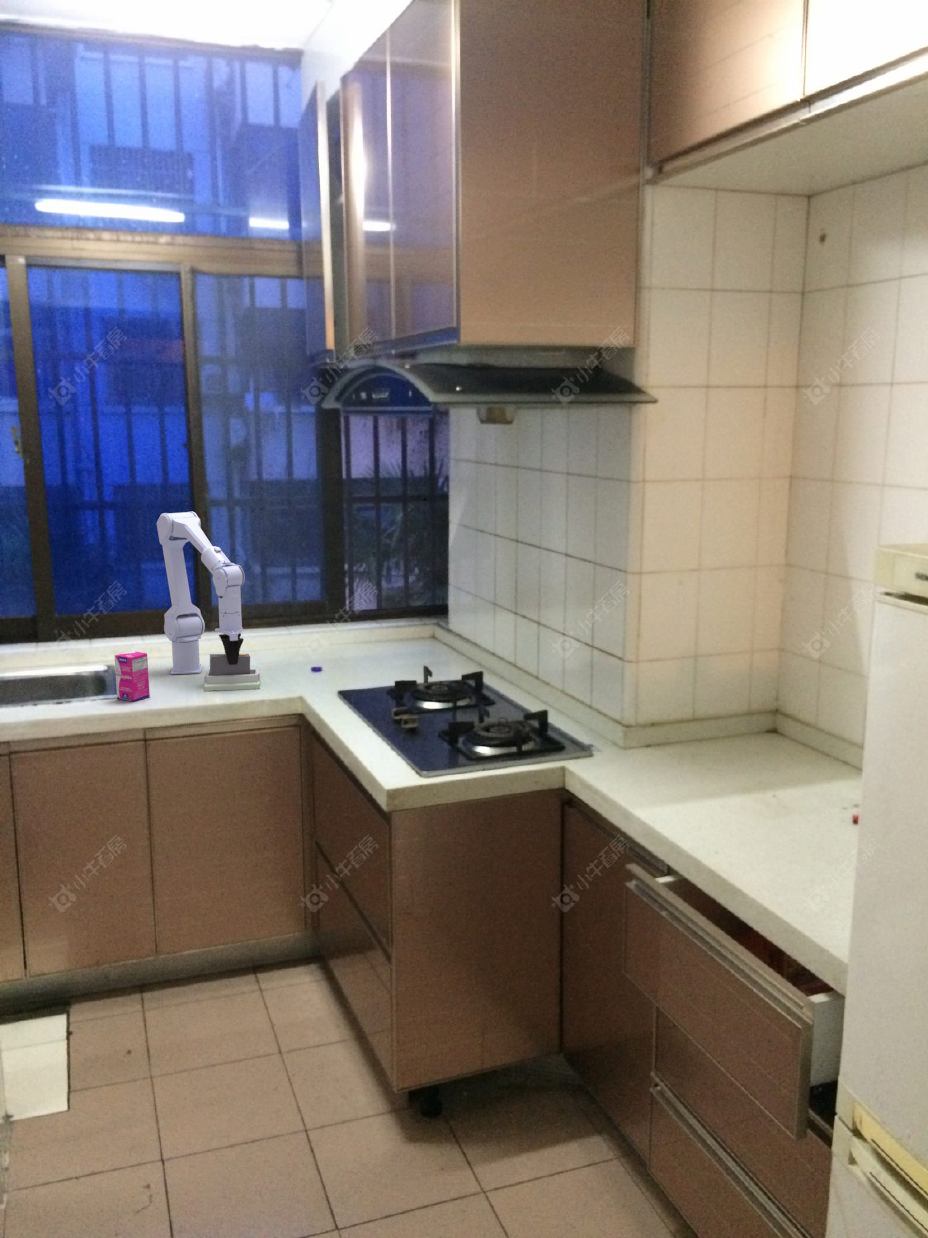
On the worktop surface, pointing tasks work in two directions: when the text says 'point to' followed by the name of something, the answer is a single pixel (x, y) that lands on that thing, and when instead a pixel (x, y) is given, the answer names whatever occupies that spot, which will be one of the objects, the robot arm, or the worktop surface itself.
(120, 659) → the supplement box
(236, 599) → the robot arm
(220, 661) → the charcoal bar
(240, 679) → the mounting board
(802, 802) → the worktop surface
